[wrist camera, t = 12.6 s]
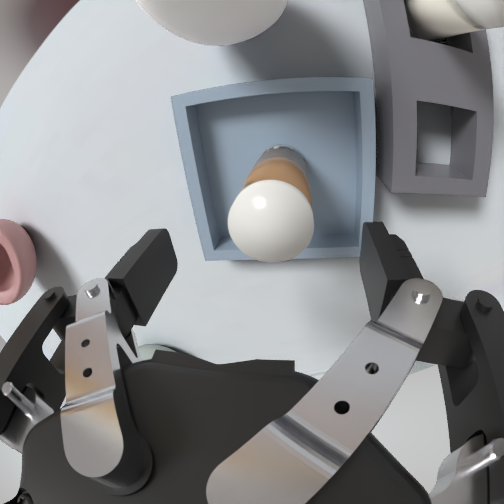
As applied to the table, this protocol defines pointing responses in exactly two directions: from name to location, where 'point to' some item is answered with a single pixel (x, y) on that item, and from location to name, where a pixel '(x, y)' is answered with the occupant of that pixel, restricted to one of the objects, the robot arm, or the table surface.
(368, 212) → the parts tray
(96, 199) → the table surface
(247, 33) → the sauce bottle
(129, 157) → the table surface
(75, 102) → the table surface
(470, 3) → the cylinder
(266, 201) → the cylinder
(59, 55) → the table surface
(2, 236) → the mortar and pestle
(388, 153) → the block
